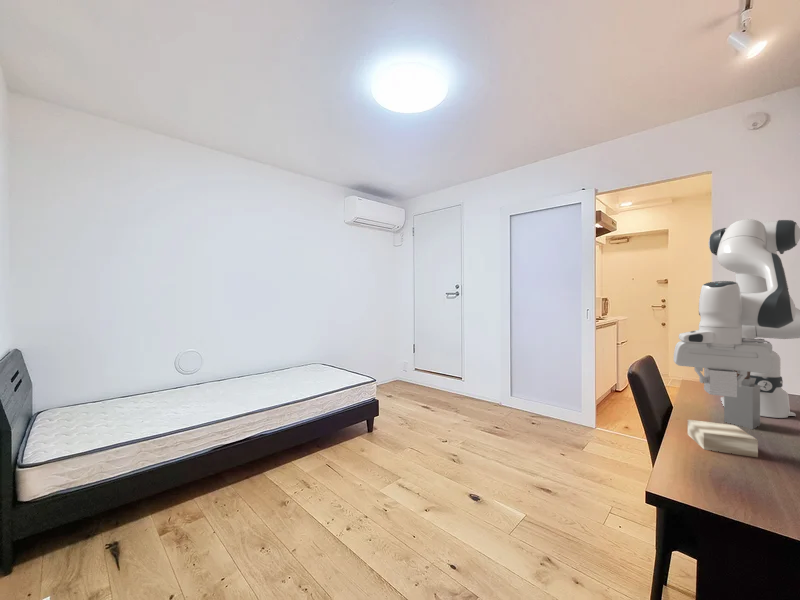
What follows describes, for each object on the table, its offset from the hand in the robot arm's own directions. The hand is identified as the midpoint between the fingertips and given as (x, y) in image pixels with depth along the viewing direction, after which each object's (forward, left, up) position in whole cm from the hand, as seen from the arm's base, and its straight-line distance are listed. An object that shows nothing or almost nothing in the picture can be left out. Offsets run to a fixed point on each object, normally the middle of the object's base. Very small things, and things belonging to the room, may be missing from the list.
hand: (719, 384), depth 91 cm
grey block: (0, 0, -3) cm, 3 cm away
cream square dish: (0, 0, -18) cm, 18 cm away
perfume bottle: (-26, +12, -18) cm, 34 cm away
